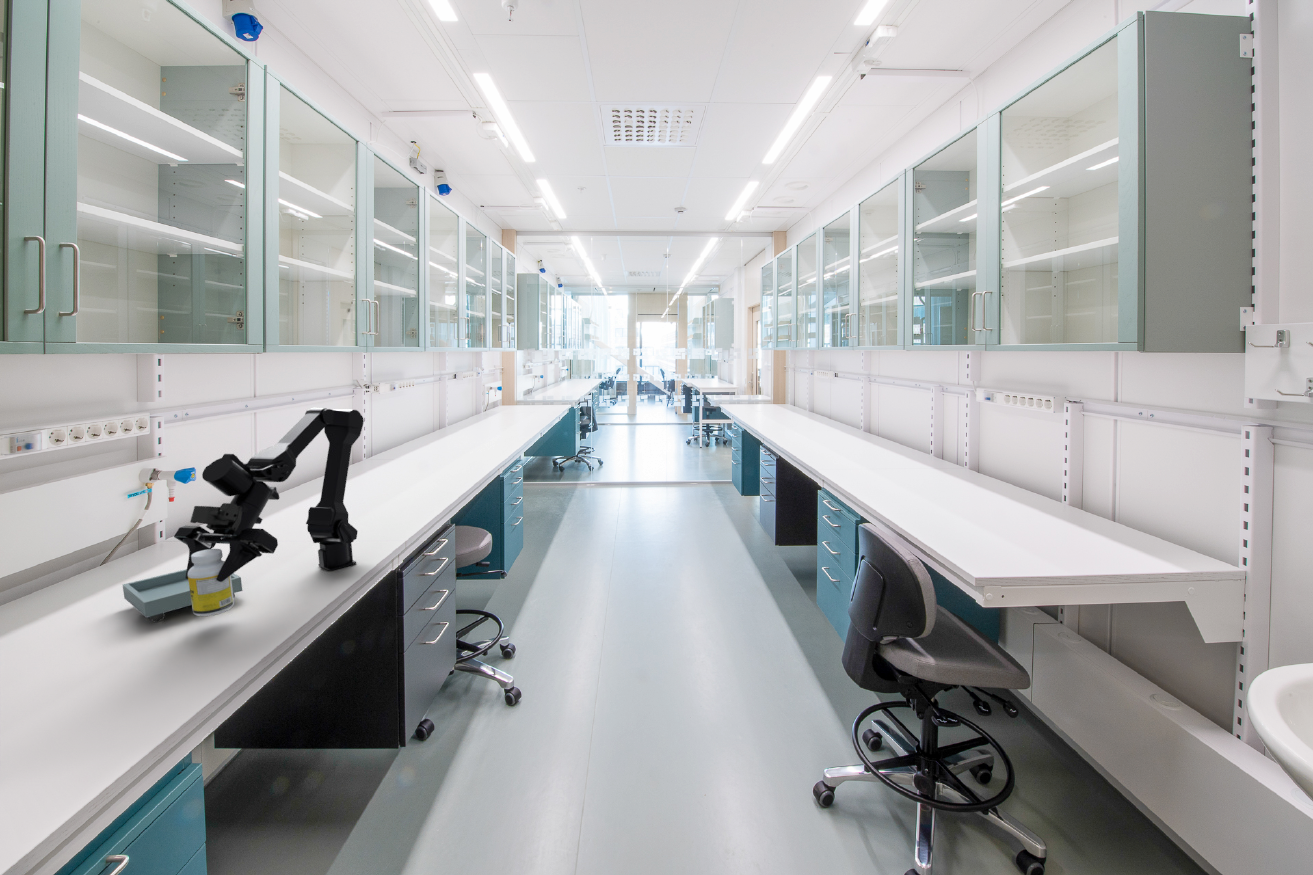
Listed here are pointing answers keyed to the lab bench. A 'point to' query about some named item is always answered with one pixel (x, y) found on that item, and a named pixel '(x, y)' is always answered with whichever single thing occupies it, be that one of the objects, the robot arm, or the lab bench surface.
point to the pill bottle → (209, 584)
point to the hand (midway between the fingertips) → (203, 580)
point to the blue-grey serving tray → (164, 593)
